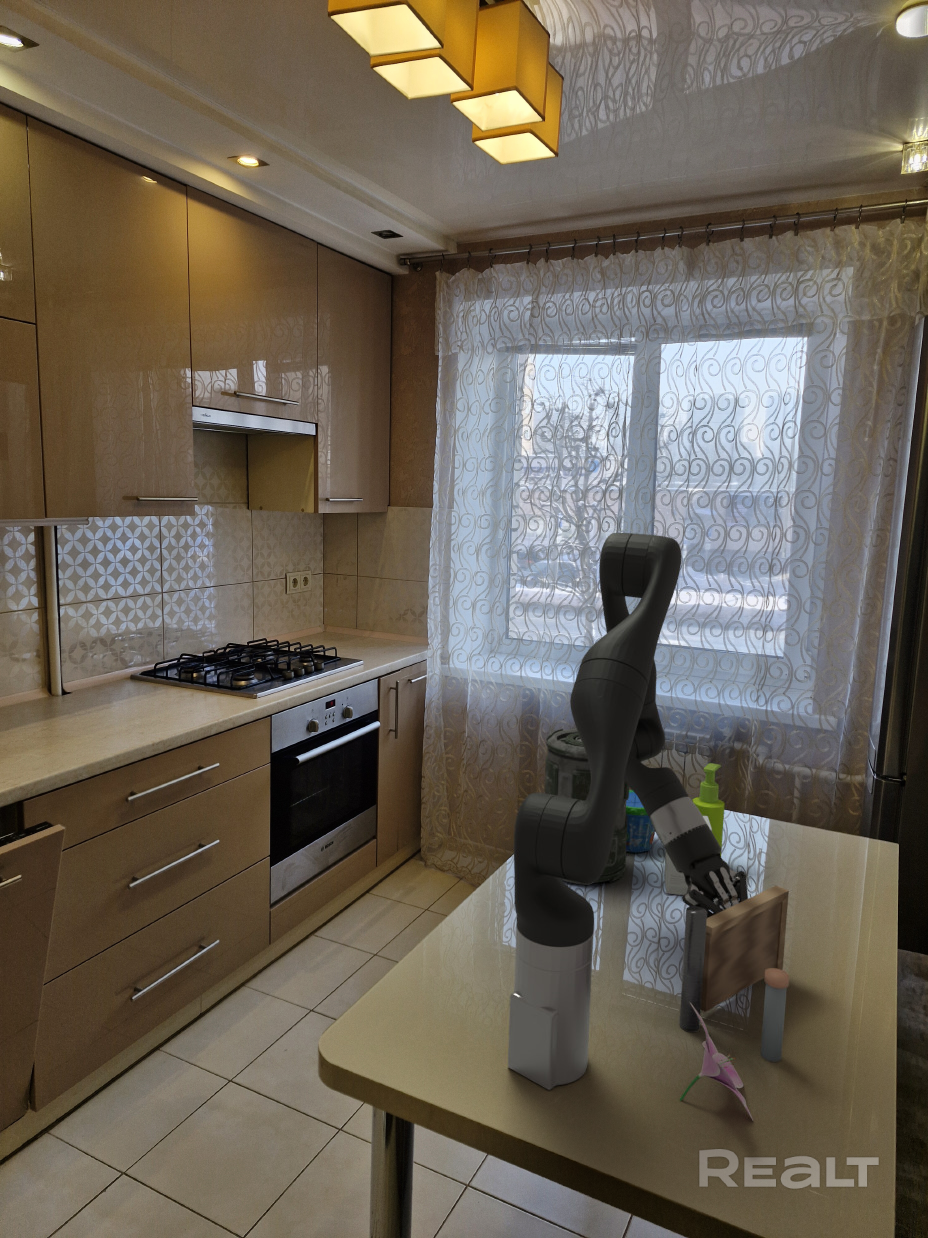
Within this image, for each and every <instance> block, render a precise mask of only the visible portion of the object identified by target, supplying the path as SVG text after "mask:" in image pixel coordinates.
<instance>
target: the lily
mask: <svg viewBox="0 0 928 1238" xmlns="http://www.w3.org/2000/svg"><path fill="white" fill-rule="evenodd" d="M690 1004H691V1003H690ZM691 1006H692V1007H693V1009H694V1011H695V1012H696V1014H697V1016H698V1018H699V1020H700V1024H701V1025H702V1027H703V1030H704V1032H705V1040H704V1041H703V1042H702V1046H703V1047H704V1049H703V1056H702V1057H703V1058H702V1065H701V1066H702V1067H701V1070H700V1073H699V1074H698V1075H696V1076H695V1078H694V1079H693V1080H692V1081H691V1082H690V1083H689V1085H688V1086H687V1087H686V1088H685V1090H684V1091H683V1093H682V1095H681V1096H680V1098H679V1101H680V1102H681V1101H683V1100H684V1098H685V1096H686V1095H687V1093H688V1092H689V1091H690V1089H691V1088H692V1087H693V1085H694V1084H695V1083H696V1082H697V1081H699V1080H700V1079H701V1078H702V1077H706V1078H709V1079H712V1080H714V1081H716V1082H718V1083H720V1084H722V1085H723V1086H725V1087H726V1088H728V1089H729V1090H730V1091H732V1093H734V1095H735V1096H736V1097H737V1098H738V1099H739V1100H740V1102H741V1103H742V1105H743V1107H744V1108H745V1110H746V1112H747V1114H748V1115H749V1117H750V1118H751V1120H752V1121H754V1119H753V1116H752V1115H751V1112H750V1110H749V1107H748V1106H747V1101H746V1099H745V1097H744V1096H743V1095H742V1093H741V1092H740V1091H739V1090H738V1089H741V1088H743V1087H744V1084H743V1083H744V1082H743V1081H742V1079H741V1076H740V1075H739V1074H738V1072H737V1070H736V1068H735V1067H734V1063H732V1062H731V1060H734V1061H735V1060H736V1058H735V1057H733V1056H732V1057H731V1058H729V1057H730V1055H731V1053H729V1054H728V1055H727V1056H726V1055H724V1054H723V1053H720V1052H718V1049H717V1047H716V1045H715V1043H714V1042H713V1040H712V1038H711V1037H710V1035H709V1031H708V1029H707V1025H706V1024H705V1022H704V1020H703V1018H702V1017H701V1016H700V1015H699V1013H698V1012H697V1011H696V1009H695V1008H694V1006H693V1005H692V1004H691ZM737 1088H738V1089H737Z"/></svg>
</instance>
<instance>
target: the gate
mask: <svg viewBox="0 0 928 1238" xmlns="http://www.w3.org/2000/svg"><path fill="white" fill-rule="evenodd" d="M788 906H789V890H788V889H786V888H783V887H781V886H779V885H774V886H771V887H770V888H768V889H765V890H764V891H762V892H760V893H758V894H755V895H754V896H751V897H749V898H748V899H747V900H745V901H742V902H740V903H738V904H736V905H734V906H732V907H730V908H728V909H726V910H723V911H721V912H719V913H717V914H715V915H713V916H711V917H709V918H707V923H706V939H705V954H704V970H703V985H702V1001H701V1012H704V1013H707V1012H709V1011H710V1010H712V1009H713V1008H715V1007H717V1006H719V1005H720V1004H722V1003H724V1002H725V1001H727V1000H728V999H730V998H733V997H734V996H736V995H737V994H739V993H740V992H742V991H744V990H746V989H747V988H749V987H751V986H753V985H754V984H756V983H758V982H759V981H761V980H763V979H764V978H765V970H766V969H769V968H776V969H780V970H783V969H784V957H785V956H784V955H785V943H786V932H787V931H786V930H787V921H788V920H787V919H788V917H787V916H788Z"/></svg>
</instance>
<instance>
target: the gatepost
mask: <svg viewBox="0 0 928 1238" xmlns="http://www.w3.org/2000/svg"><path fill="white" fill-rule="evenodd" d="M684 922H685V923H684V925H685V927H684V937H683V939H684V941H683V954H682V955H683V957H682V958H683V959H682V972H681V987H680V989H681V991H680V1004H679V1005H680V1007H679V1021H678V1024H679V1027H680V1028H681V1029H682V1030H683V1031H685V1032H688V1033H696V1032H699V1030H700V1029H701V1021H700V1020H699V1018H698V1016H697V1014H696V1012H695V1011H694V1009H693V1007H692V1006H691V1004H692V1005H693V1006H694V1008H695V1009H696V1011H697V1012H698V1013H699V1015H700V1017H701V1014H702V1010H701V1001H702V985H703V970H704V954H705V939H706V923H707V911H706V910H705V909H703V908H701V907H697V906H690V907H689V906H688V907H686V910H685V921H684ZM690 1003H691V1004H690Z"/></svg>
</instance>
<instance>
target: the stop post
mask: <svg viewBox="0 0 928 1238" xmlns="http://www.w3.org/2000/svg"><path fill="white" fill-rule="evenodd" d="M763 979H764V982H765V990H764V1004H763V1016H762V1017H763V1019H762V1028H761V1029H762V1031H761V1043H760V1044H761V1045H760V1055H761V1057H762V1058H763V1059H764V1060H765V1061H768V1062H772V1063H773V1062H774V1063H777V1062H780V1061H781V1060H782V1054H783V1053H782V1050H783V1038H784V1025H785V1016H786V1015H785V1013H786V1001H787V1000H786V999H787V988H788V987H789V985H790V975H789V974H788V973H787V971H784V970H783V969H782V970H780V969H776V968H769V969H766V970H765V977H764V978H763Z"/></svg>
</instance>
